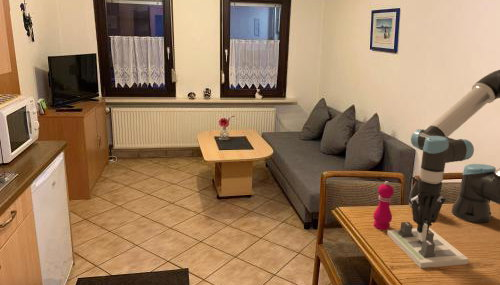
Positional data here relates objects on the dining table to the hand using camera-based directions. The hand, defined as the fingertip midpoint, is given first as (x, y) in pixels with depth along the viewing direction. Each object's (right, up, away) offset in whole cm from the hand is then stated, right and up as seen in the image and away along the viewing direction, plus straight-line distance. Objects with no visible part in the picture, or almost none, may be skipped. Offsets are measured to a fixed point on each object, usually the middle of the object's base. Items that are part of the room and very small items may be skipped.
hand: (421, 239), depth 146 cm
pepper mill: (-9, +1, +17) cm, 19 cm away
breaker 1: (-3, 0, +7) cm, 7 cm away
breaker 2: (-1, -3, -7) cm, 8 cm away
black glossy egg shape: (+13, +5, +34) cm, 36 cm away
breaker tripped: (+2, -1, +1) cm, 3 cm away
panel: (+2, -4, +1) cm, 4 cm away
